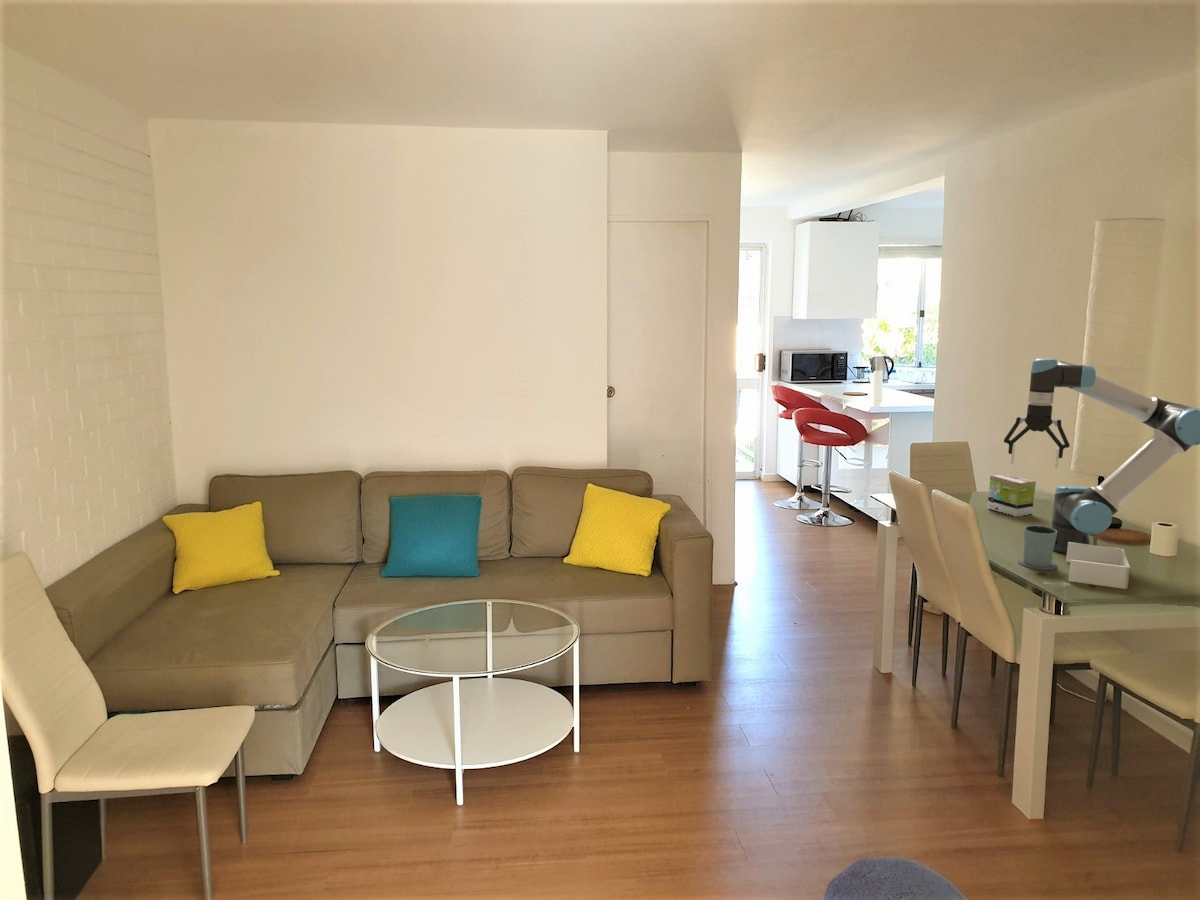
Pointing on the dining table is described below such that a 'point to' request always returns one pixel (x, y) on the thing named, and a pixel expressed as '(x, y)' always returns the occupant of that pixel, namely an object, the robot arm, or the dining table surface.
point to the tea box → (1011, 494)
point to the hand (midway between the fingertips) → (1033, 465)
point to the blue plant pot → (1039, 545)
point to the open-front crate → (1098, 565)
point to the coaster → (1051, 567)
